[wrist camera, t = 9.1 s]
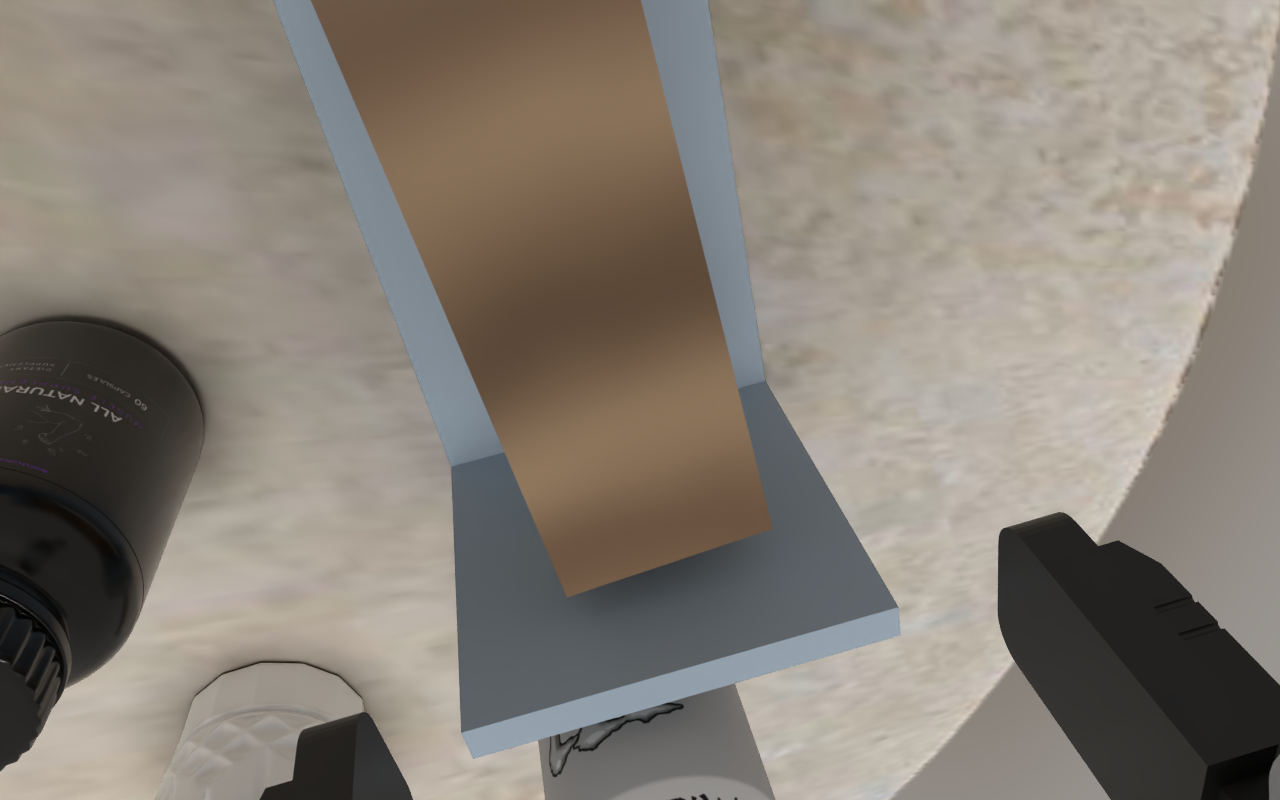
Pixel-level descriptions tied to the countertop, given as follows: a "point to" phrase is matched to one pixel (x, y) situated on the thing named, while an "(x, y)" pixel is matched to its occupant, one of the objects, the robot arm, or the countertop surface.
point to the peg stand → (498, 514)
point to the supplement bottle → (81, 504)
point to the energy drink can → (660, 754)
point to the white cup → (252, 730)
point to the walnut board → (563, 265)
